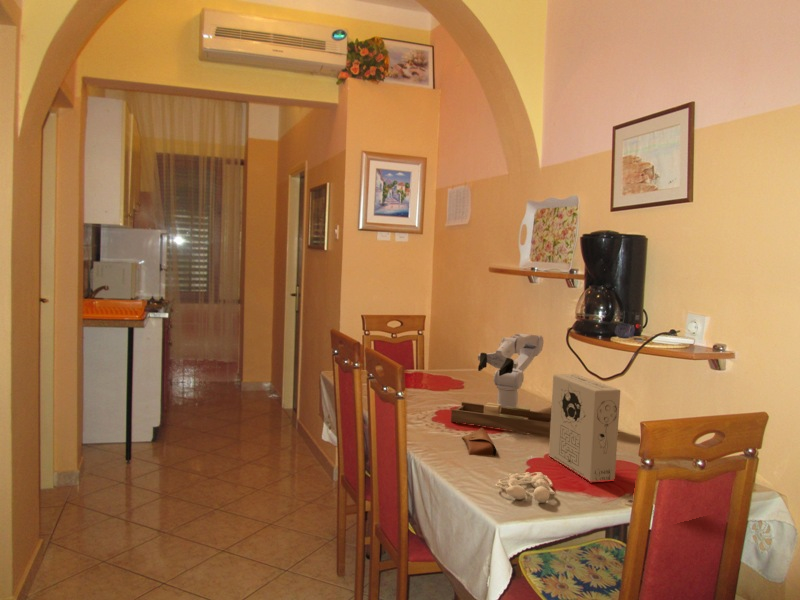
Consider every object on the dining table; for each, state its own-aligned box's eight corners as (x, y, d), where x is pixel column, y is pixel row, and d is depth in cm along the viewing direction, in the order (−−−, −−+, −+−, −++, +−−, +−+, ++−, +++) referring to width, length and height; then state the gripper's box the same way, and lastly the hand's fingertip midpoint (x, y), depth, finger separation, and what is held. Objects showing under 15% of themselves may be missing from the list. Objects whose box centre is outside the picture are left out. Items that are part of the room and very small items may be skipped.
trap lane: (462, 413, 228) (462, 400, 228) (555, 426, 215) (556, 412, 215) (450, 422, 216) (451, 408, 216) (548, 436, 203) (549, 421, 203)
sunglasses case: (459, 436, 199) (470, 419, 199) (477, 447, 200) (488, 430, 200) (468, 455, 182) (481, 436, 181) (488, 467, 182) (500, 448, 182)
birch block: (487, 413, 220) (487, 402, 220) (500, 415, 218) (501, 404, 218) (483, 416, 216) (483, 405, 215) (497, 418, 214) (497, 407, 213)
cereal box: (615, 482, 164) (621, 389, 162) (590, 484, 162) (596, 390, 160) (570, 455, 185) (575, 373, 183) (548, 457, 183) (552, 374, 181)
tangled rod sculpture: (503, 477, 169) (503, 462, 169) (558, 480, 164) (557, 465, 164) (492, 502, 150) (491, 485, 150) (553, 506, 146) (552, 489, 146)
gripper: (484, 341, 227) (470, 356, 216) (522, 349, 221) (510, 365, 210) (483, 358, 230) (469, 373, 219) (521, 366, 223) (509, 383, 212)
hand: (489, 370), depth 214 cm, fingers open, 7 cm apart
